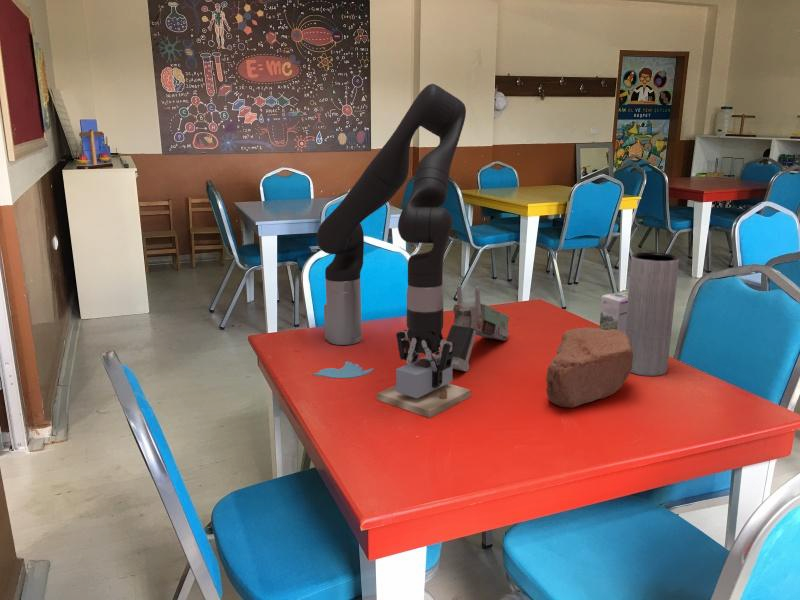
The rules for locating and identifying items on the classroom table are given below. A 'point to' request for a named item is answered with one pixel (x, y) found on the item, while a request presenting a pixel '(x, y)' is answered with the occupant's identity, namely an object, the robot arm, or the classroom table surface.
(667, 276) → the vase
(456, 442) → the classroom table surface
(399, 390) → the grey rectangular block
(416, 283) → the robot arm
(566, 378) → the stone
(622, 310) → the syrup box
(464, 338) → the ray gun
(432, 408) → the post base
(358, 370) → the decorative object
